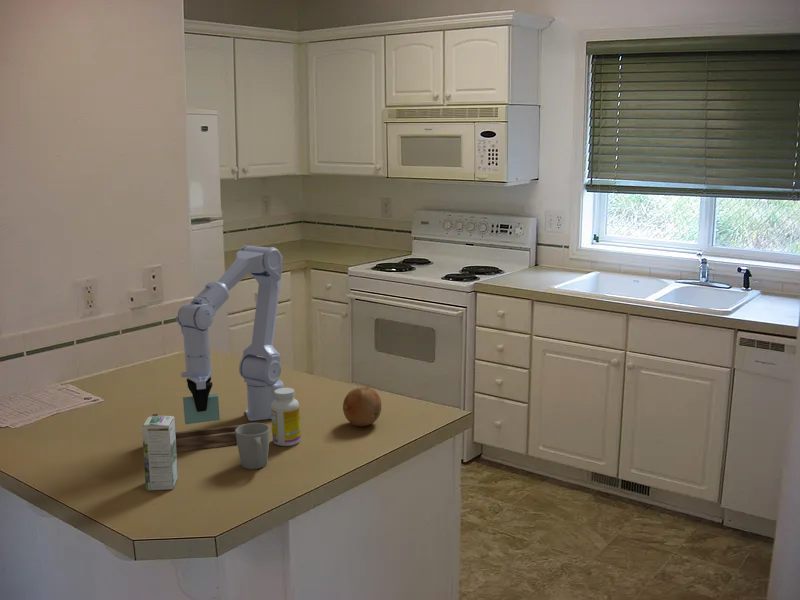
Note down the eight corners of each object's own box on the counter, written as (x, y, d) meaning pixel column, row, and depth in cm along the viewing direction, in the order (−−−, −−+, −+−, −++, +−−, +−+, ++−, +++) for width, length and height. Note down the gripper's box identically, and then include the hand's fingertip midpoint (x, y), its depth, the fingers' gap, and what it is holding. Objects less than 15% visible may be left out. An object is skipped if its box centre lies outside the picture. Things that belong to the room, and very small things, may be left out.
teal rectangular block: (219, 417, 202) (217, 393, 200) (219, 420, 200) (218, 396, 198) (184, 421, 199) (182, 397, 198) (185, 424, 198) (183, 400, 196)
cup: (266, 455, 193) (265, 420, 191) (278, 472, 184) (276, 435, 182) (233, 461, 190) (231, 425, 188) (243, 478, 181) (241, 441, 179)
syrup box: (151, 479, 181) (146, 415, 178) (179, 478, 181) (174, 414, 178) (145, 491, 175) (140, 425, 172) (174, 489, 176) (169, 424, 173)
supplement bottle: (305, 438, 203) (303, 387, 200) (293, 448, 196) (291, 396, 194) (280, 435, 205) (278, 385, 202) (267, 445, 199) (265, 393, 196)
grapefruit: (356, 415, 217) (355, 378, 215) (389, 421, 213) (388, 384, 210) (335, 427, 209) (334, 389, 207) (369, 434, 204) (368, 395, 202)
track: (243, 431, 207) (242, 404, 206) (247, 443, 200) (246, 415, 198) (154, 442, 201) (152, 414, 200) (155, 454, 194) (152, 426, 192)
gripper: (178, 347, 202) (182, 401, 205) (181, 364, 188) (185, 421, 191) (208, 344, 204) (211, 397, 207) (213, 361, 190) (217, 418, 193)
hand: (201, 409), depth 199 cm, fingers closed on teal rectangular block, 2 cm apart
